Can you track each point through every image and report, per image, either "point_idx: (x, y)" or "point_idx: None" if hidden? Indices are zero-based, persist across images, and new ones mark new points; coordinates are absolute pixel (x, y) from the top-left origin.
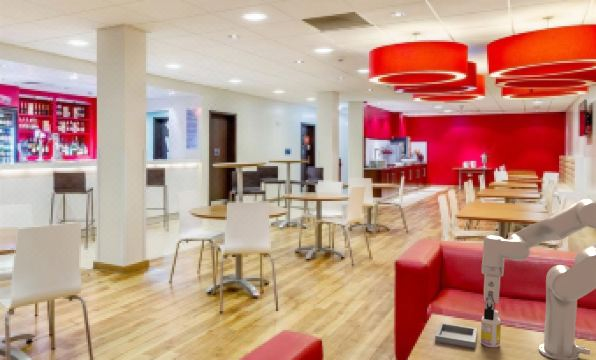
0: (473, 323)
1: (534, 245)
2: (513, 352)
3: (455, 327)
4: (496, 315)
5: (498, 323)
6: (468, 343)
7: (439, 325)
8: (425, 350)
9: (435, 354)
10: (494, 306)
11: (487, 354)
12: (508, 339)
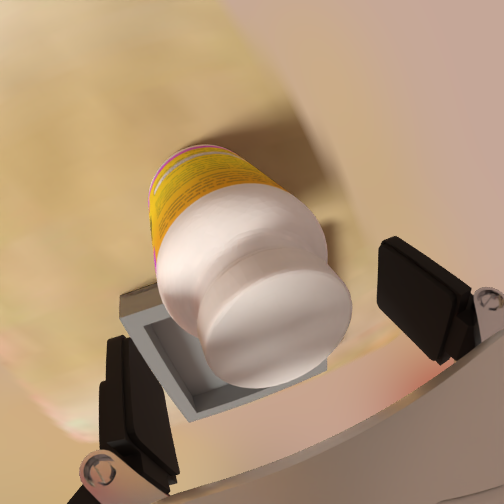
0: (18, 352)
1: None
2: (234, 58)
3: (177, 379)
4: (312, 253)
5: (288, 193)
6: None
7: (220, 411)
8: (381, 333)
9: None
10: (109, 376)
11: (332, 166)
12: (55, 142)
